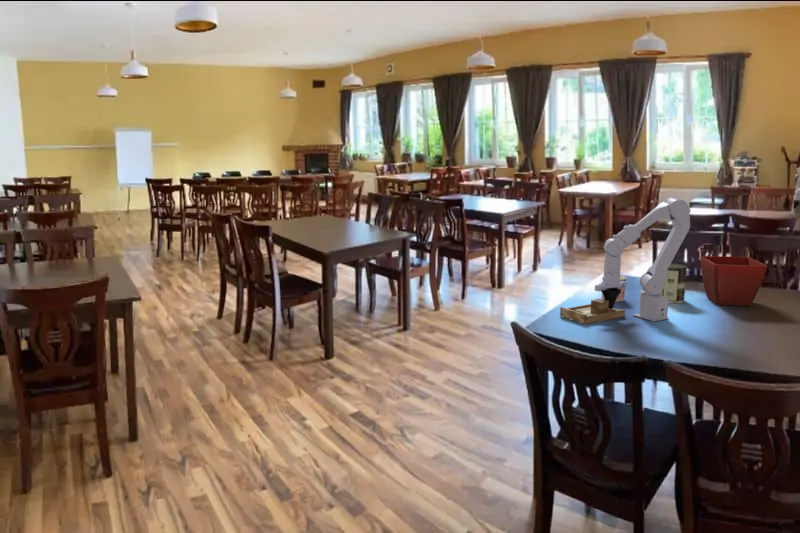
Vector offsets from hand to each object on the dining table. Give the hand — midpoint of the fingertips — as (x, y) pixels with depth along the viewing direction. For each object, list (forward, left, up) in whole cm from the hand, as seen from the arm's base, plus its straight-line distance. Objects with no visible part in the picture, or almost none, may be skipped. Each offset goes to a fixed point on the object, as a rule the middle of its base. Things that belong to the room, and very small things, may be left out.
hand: (609, 308), depth 256 cm
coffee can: (+5, -40, -3) cm, 40 cm away
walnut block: (0, +5, -1) cm, 5 cm away
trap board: (+3, +6, -3) cm, 7 cm away
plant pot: (-9, -57, -3) cm, 57 cm away
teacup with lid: (+18, -22, -3) cm, 28 cm away
